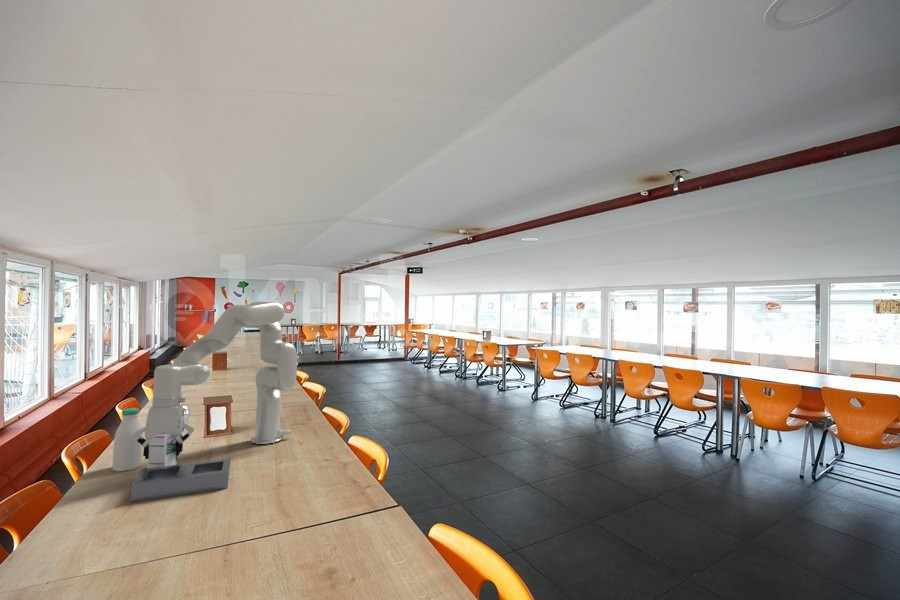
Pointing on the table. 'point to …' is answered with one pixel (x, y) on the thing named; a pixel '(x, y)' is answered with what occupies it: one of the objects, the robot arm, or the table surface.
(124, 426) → the milk bottle
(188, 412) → the cup with straw
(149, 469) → the slotted tray
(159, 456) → the syrup box
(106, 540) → the table surface
